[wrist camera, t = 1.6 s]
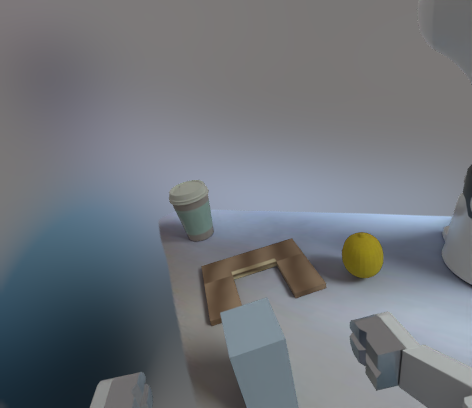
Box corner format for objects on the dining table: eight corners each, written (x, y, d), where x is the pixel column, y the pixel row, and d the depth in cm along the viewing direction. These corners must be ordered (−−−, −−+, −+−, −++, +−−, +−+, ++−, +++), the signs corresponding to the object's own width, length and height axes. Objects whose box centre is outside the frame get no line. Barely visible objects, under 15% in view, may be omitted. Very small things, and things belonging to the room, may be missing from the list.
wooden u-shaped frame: (292, 242, 53) (291, 237, 52) (326, 288, 41) (325, 282, 41) (202, 270, 51) (201, 265, 51) (211, 326, 39) (209, 320, 39)
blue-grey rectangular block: (281, 363, 33) (267, 297, 28) (298, 407, 28) (285, 338, 23) (241, 377, 32) (220, 312, 27) (252, 425, 28) (229, 358, 23)
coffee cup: (196, 223, 68) (181, 179, 63) (225, 225, 64) (213, 178, 59) (176, 243, 61) (158, 196, 56) (207, 247, 57) (191, 197, 52)
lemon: (363, 295, 39) (363, 250, 35) (335, 274, 43) (332, 232, 40) (391, 278, 40) (394, 233, 37) (360, 259, 45) (360, 218, 41)
